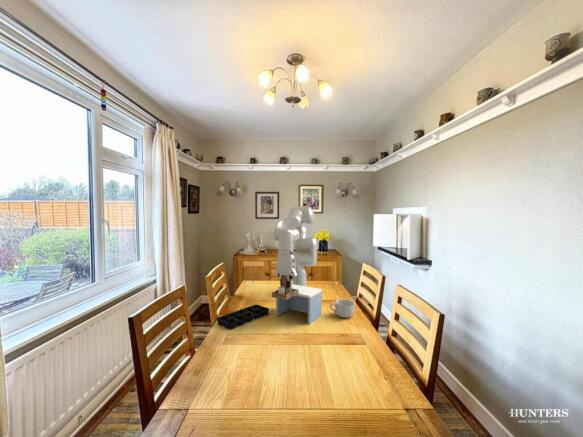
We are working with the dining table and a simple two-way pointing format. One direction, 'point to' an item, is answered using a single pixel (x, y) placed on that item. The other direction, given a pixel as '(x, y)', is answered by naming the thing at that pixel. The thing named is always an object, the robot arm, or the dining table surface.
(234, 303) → the dining table surface
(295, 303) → the white step stool
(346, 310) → the teacup
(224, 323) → the egg carton
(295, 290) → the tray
